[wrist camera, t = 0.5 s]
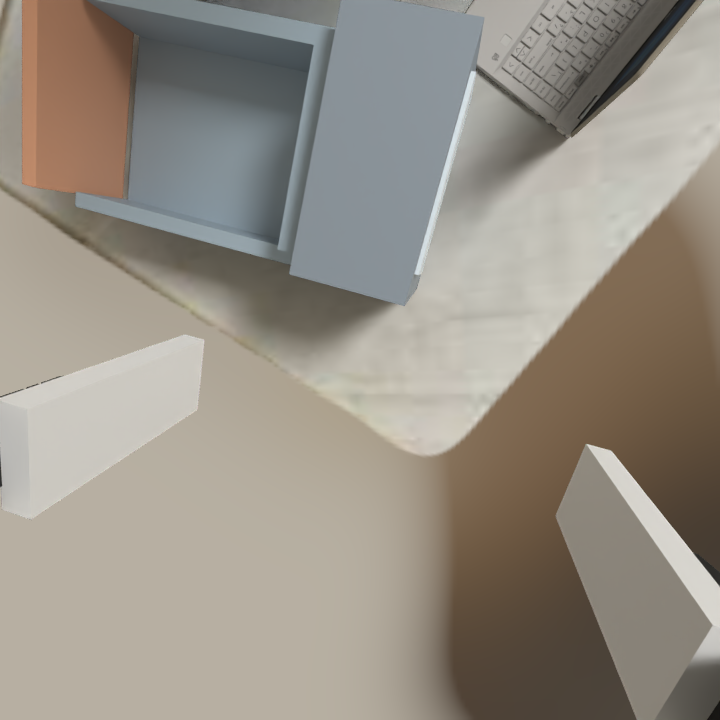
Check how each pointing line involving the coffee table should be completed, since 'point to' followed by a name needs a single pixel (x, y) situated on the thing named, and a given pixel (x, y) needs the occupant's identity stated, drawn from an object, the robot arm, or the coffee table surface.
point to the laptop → (573, 50)
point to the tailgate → (74, 97)
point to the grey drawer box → (298, 133)
